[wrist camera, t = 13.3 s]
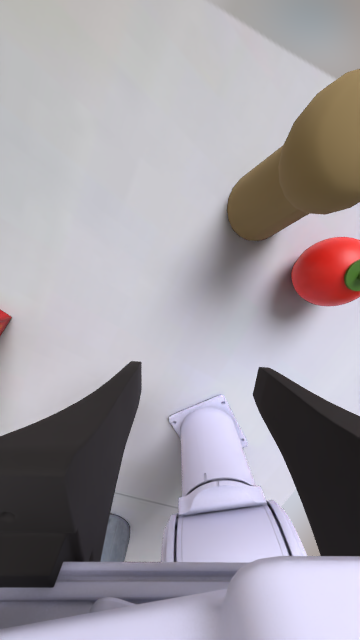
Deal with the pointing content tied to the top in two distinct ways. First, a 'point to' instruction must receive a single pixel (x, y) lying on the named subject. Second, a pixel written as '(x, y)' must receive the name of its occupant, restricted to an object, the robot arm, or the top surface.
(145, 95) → the top surface
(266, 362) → the top surface
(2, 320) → the baking soda box
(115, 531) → the moka pot
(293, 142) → the tan rounded tall piece
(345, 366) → the top surface
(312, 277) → the tomato
